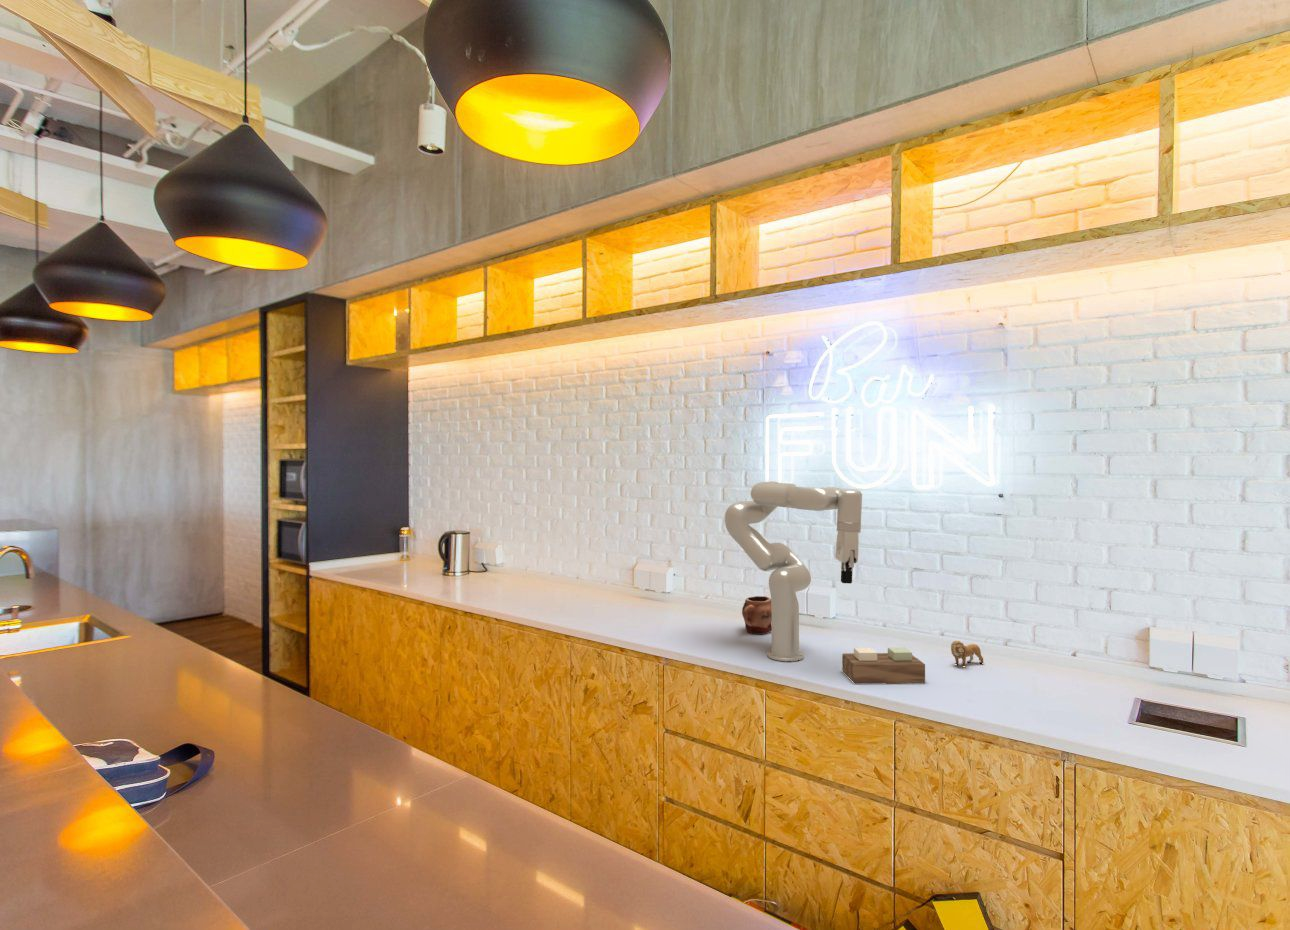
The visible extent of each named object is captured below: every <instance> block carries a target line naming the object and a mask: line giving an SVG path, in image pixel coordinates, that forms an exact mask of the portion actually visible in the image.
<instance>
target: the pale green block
mask: <svg viewBox="0 0 1290 930" xmlns="http://www.w3.org/2000/svg"><path fill="white" fill-rule="evenodd" d="M887 653H888V656H889V657H891V658H892V659H893V660H894V661H908V660H912V655H913V652H912V651H911V650H910V649H908V648H906V647H905V646H904V647H903V646H902V647H887Z"/></svg>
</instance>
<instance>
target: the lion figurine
mask: <svg viewBox="0 0 1290 930" xmlns="http://www.w3.org/2000/svg"><path fill="white" fill-rule="evenodd" d="M950 651H951V654H952V656H953V657H954V660H955V663H954V664H958V665H959V664H960V662H959V660H960V659H961V661H962V662H961V667H962V666H966V667H967V664H966V663H967V662H971V663H972V662H973V660H974V655H975V656H976V657H977V658H978V660H979V664H980V663H984V657H983V656H982V653H981V651H982V650H981V649H980V646H979V645H977V644H975V643H971V644H968V645H964V643H963V642H961V641H960V640H954V641H953V642H952V643H950ZM967 658H969V660H967Z"/></svg>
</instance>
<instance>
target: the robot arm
mask: <svg viewBox="0 0 1290 930" xmlns="http://www.w3.org/2000/svg"><path fill="white" fill-rule="evenodd" d="M750 498H751V500H749V501H746V500H745V501H738V502H734V503H732V504H730V505H729V506H728V507H727V509H726V511H725V514H724V524H725V528H726V531H727V532H728V535H730V536H731V538H732V539H733V540H734V541H735V542H736V543H737V545H739V546H740V548H741V549H742V550H743V551H744V553H745V554H746V555H747V556H748V557H749V559H750V560H751V561H752V562H753V564H754V565H755V566H756V567H757V568H758V569H759V570H761V571H763V572H769V571H772V572H771V573H770V574H769V577H768V589H769V593H770V594H769V595H770V599H771V613H772V621H771V627H772V631H771V649H769V650H768V651H767V652H766V654H767V655H766V656H767V657H768V658H769V659H771V660H774V661H777V662H778V661H779V662H787V661H791V662H798V660H799V661H801V660H803V659H804V657H805V655H804V653H803V652H802V651H800V605H799V601H798V596H797V592H800V591H804V590H806V589H807V588H808V587H809V586H810V584H811V581H812V578H811V573H810V571H809V569H808V568H807V566H806V565H805V564H804V563H803V562H802V560H801V559H800V558H799V557H798V556H797V555H796V554H795V553H794V552H793V551H792V549H791V548H790V547H788V546H787V545H785V544H784V543H781V542H771V543H770V542H768V540H766V539H765V538H764V536H763V535H762V534H761V533H760V532H759V531H758V530H756V528H753V527H752V526H751V524H758V523H761V522H763V521H764V520H765V519H766V518H767V517H768V516H769V515H771V513H773V511H775V510H776V509H777V508H788V509H795V510H796V509H797V510H804V511H805V510H806V511H817V512H822V511H830V510H837V511H836V512H837V513H836V514H837V515H836V516H837V517H836V532H837V535H836V543H835V554H834V555H835V559H837V560H838V561H839V562H841V563H840V564H841V565H840V568H841V570H840V582H841V583H842V584H852V583H853V569H854V568H855V564H857V563H858V561H859V534H860V533H861V532H862V531H861V529H862V509H863V508H862V507H863V493H862V492H861V491H860V490H857V489H843V488H839V487H834V486H833V487H831V486H830V487H829V486H828V487H804V486H796V484H794V483H787V482H785V483H783V482H778V481H760V482H757V483H755V484H754V485H753V486H752V487H751V490H750Z"/></svg>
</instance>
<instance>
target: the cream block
mask: <svg viewBox="0 0 1290 930" xmlns="http://www.w3.org/2000/svg"><path fill="white" fill-rule="evenodd" d="M853 653H854V656H855V657H856V658H857V659H858V660H859V661H877V653H878V652H877V651H876V650H875V649H873V648H872V647H853Z"/></svg>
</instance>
